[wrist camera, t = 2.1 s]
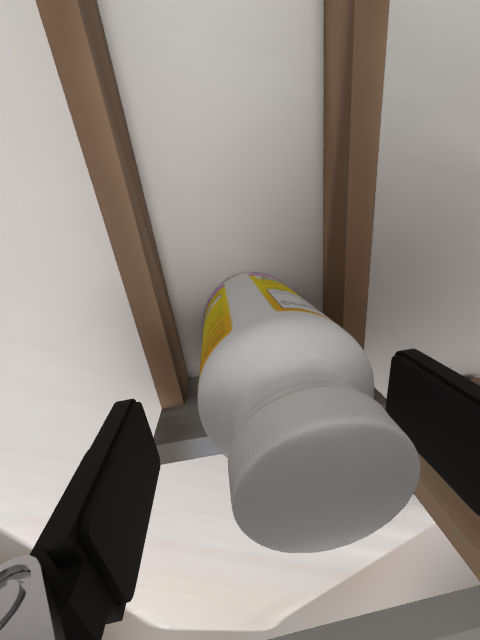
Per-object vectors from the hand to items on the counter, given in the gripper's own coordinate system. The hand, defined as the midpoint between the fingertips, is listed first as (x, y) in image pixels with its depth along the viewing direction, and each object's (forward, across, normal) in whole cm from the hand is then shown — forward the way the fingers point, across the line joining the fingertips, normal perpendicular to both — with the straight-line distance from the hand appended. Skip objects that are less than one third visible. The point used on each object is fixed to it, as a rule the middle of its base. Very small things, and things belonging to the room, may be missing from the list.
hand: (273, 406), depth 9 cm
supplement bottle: (+10, -1, 0) cm, 10 cm away
